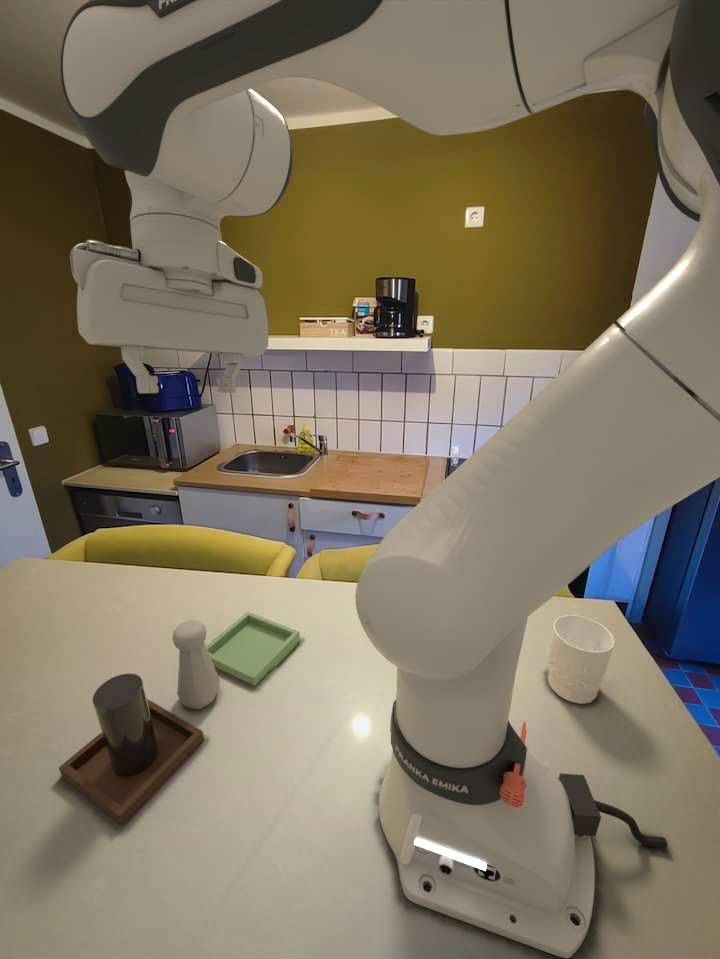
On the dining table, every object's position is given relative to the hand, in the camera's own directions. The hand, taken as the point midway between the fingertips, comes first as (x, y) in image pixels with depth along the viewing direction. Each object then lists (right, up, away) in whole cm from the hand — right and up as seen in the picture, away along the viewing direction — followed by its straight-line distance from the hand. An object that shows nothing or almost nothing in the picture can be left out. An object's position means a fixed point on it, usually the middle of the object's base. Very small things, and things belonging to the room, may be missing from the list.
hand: (190, 393), depth 48 cm
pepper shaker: (-9, -45, +6) cm, 46 cm away
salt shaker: (-4, -42, +15) cm, 45 cm away
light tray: (+1, -39, +24) cm, 45 cm away
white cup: (+51, -41, +17) cm, 68 cm away
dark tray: (-9, -45, +6) cm, 47 cm away
